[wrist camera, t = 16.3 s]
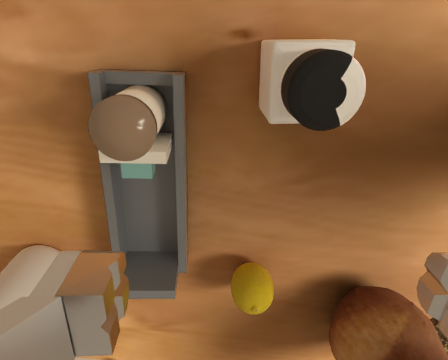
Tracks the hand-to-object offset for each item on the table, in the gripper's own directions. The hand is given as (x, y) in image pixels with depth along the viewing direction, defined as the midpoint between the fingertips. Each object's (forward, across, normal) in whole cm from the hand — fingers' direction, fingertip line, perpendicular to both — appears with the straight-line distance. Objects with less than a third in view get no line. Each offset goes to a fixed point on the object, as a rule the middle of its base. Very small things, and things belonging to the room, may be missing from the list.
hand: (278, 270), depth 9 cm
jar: (+28, +9, +2) cm, 29 cm away
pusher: (+28, +9, +6) cm, 30 cm away
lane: (+29, +9, +10) cm, 32 cm away
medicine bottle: (+29, -7, -2) cm, 30 cm away
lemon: (+29, -4, +24) cm, 38 cm away
